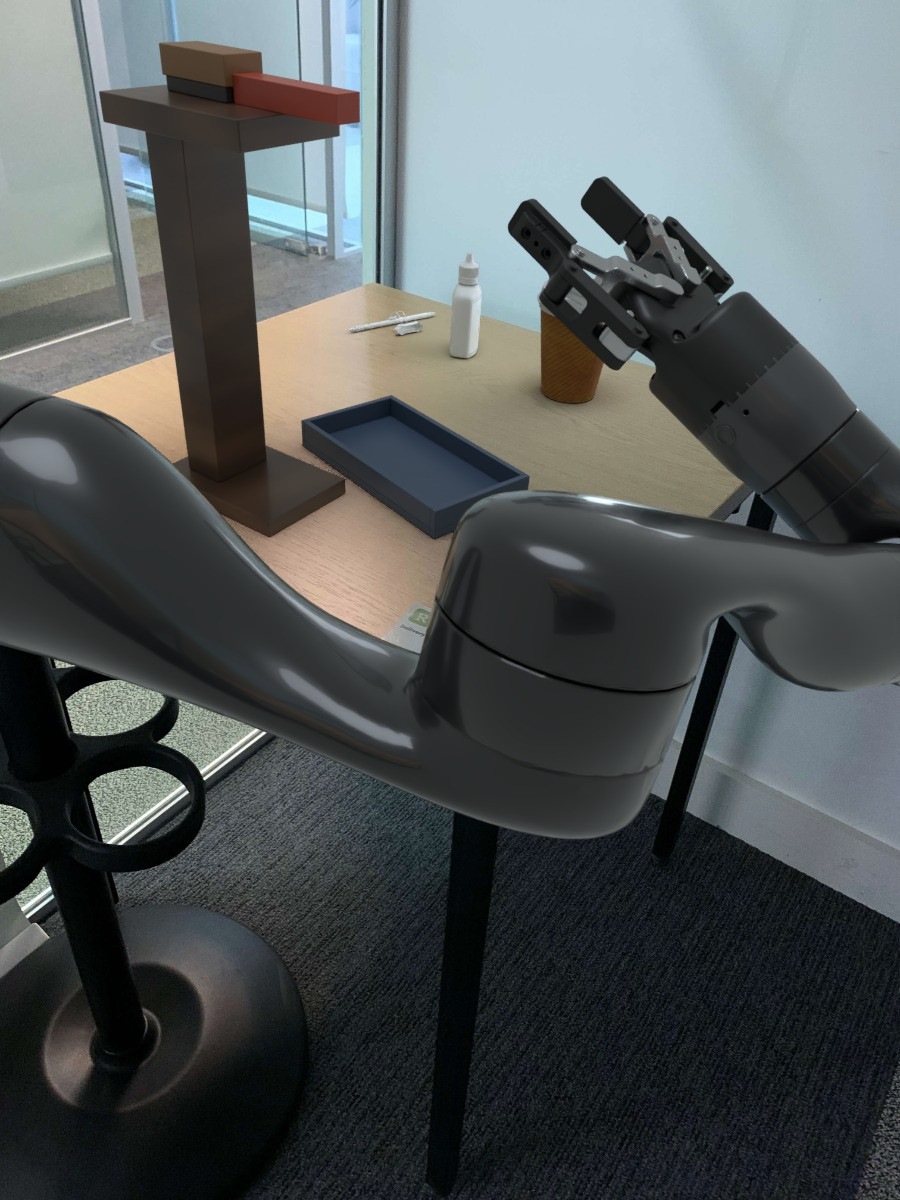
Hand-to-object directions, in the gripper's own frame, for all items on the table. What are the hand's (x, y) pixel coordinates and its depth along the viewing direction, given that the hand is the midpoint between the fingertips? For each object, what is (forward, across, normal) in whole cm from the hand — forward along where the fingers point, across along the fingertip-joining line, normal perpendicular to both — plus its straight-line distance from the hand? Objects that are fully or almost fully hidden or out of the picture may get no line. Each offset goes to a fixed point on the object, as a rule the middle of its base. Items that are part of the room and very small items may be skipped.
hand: (555, 199), depth 53 cm
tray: (+2, -13, +36) cm, 38 cm away
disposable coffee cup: (0, -40, +35) cm, 53 cm away
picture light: (+23, -43, +48) cm, 69 cm away
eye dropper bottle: (+14, -42, +43) cm, 62 cm away
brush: (+22, -1, +11) cm, 25 cm away
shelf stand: (+10, -1, +40) cm, 42 cm away
